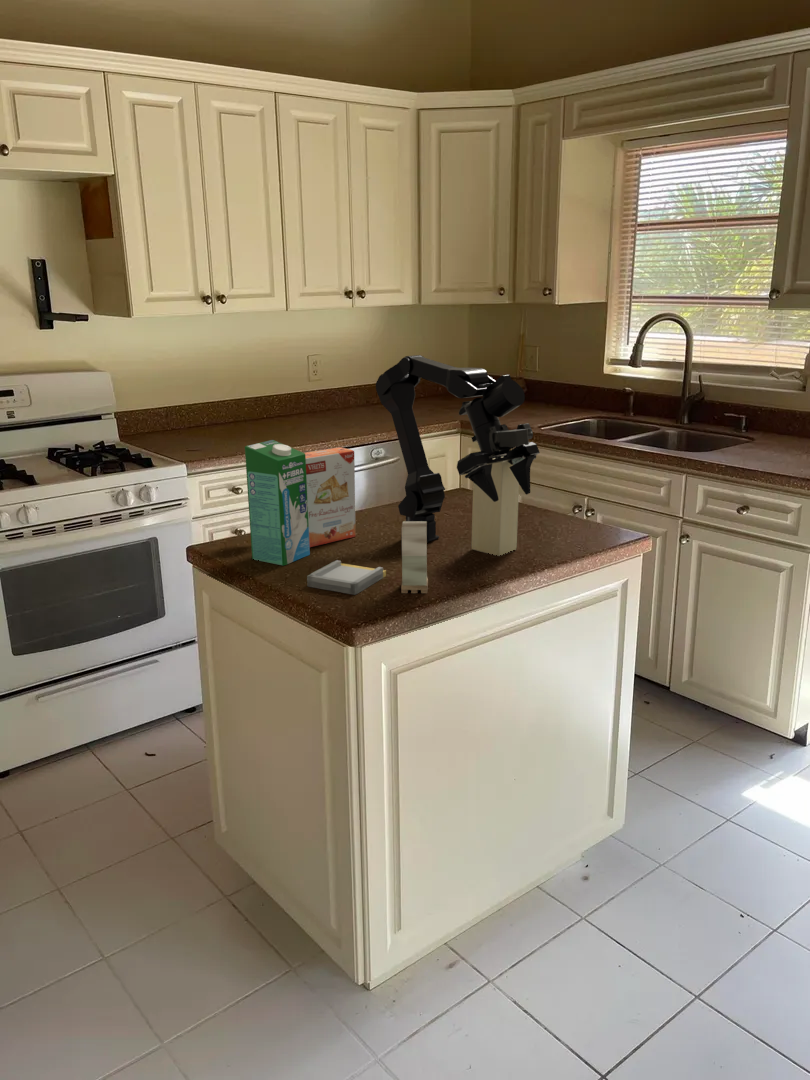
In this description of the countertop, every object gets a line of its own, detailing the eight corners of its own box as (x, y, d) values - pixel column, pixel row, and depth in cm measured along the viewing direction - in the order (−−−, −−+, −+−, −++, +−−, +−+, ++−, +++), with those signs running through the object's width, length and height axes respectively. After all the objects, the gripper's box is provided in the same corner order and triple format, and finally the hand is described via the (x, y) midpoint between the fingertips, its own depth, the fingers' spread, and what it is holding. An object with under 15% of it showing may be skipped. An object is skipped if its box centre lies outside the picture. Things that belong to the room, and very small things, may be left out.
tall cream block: (519, 549, 191) (522, 456, 185) (499, 556, 186) (501, 461, 180) (491, 542, 196) (492, 451, 190) (471, 549, 191) (472, 456, 185)
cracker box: (308, 549, 193) (304, 457, 187) (293, 543, 197) (289, 454, 191) (357, 537, 202) (355, 449, 196) (342, 531, 206) (339, 445, 200)
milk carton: (283, 566, 182) (277, 449, 174) (251, 559, 186) (244, 445, 179) (310, 554, 189) (305, 442, 182) (278, 548, 194) (272, 438, 186)
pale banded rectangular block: (402, 584, 170) (401, 521, 166) (427, 584, 170) (427, 521, 166) (401, 593, 165) (400, 528, 161) (427, 593, 165) (427, 528, 161)
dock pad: (340, 568, 180) (339, 558, 179) (386, 576, 175) (385, 565, 174) (307, 586, 169) (307, 575, 169) (355, 594, 164) (355, 584, 164)
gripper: (477, 415, 163) (505, 491, 162) (543, 405, 175) (570, 476, 173) (443, 437, 172) (470, 510, 170) (508, 427, 183) (534, 495, 182)
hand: (512, 497), depth 174 cm, fingers open, 9 cm apart
